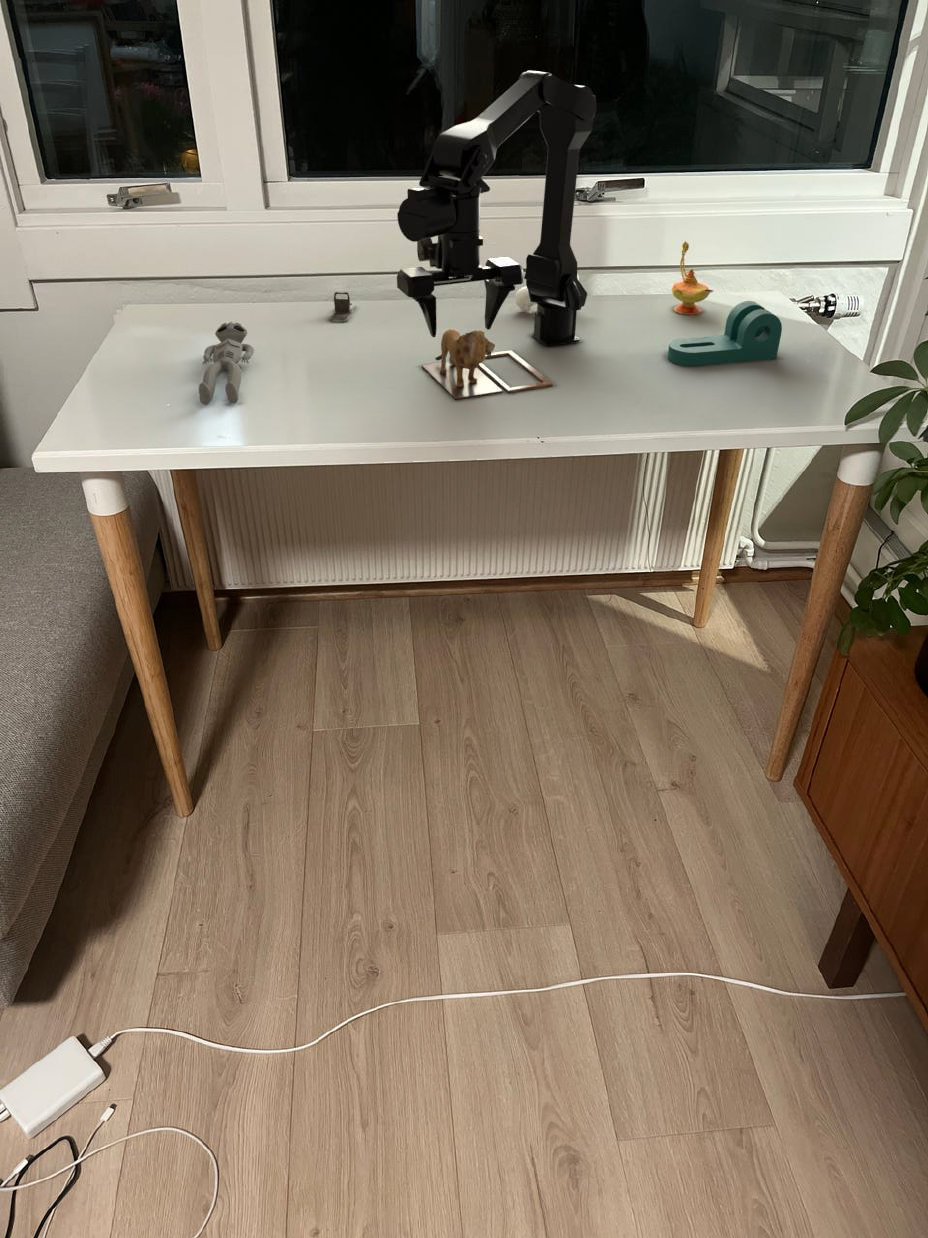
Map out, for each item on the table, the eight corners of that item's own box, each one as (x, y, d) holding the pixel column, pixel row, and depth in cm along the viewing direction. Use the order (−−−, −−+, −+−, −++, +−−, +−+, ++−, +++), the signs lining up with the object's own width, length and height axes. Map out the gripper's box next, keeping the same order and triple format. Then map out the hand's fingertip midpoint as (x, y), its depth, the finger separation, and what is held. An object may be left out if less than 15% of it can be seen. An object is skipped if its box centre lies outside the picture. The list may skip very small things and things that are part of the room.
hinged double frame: (511, 352, 165) (511, 349, 165) (552, 385, 153) (552, 383, 153) (420, 365, 160) (420, 363, 160) (456, 401, 148) (456, 398, 148)
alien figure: (187, 381, 144) (207, 319, 164) (193, 411, 147) (212, 346, 167) (242, 379, 145) (255, 318, 164) (246, 409, 148) (258, 345, 167)
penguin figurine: (580, 268, 175) (514, 275, 176) (581, 315, 180) (517, 321, 181) (576, 258, 180) (512, 265, 181) (577, 304, 185) (515, 310, 186)
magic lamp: (686, 329, 175) (695, 267, 168) (659, 298, 189) (666, 240, 183) (723, 328, 175) (733, 266, 169) (693, 297, 190) (701, 239, 183)
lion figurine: (498, 387, 152) (499, 331, 147) (469, 395, 150) (470, 338, 144) (448, 359, 162) (448, 305, 157) (421, 365, 160) (419, 311, 154)
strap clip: (339, 307, 185) (338, 284, 183) (355, 307, 185) (353, 284, 182) (330, 321, 178) (328, 298, 176) (346, 322, 178) (344, 298, 175)
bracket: (757, 344, 168) (766, 299, 164) (776, 358, 163) (785, 311, 158) (661, 352, 165) (666, 306, 161) (676, 367, 160) (683, 319, 155)
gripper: (496, 210, 151) (494, 309, 160) (382, 221, 145) (387, 324, 154) (526, 226, 142) (522, 331, 152) (407, 239, 137) (411, 346, 146)
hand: (460, 332), depth 151 cm, fingers open, 9 cm apart
